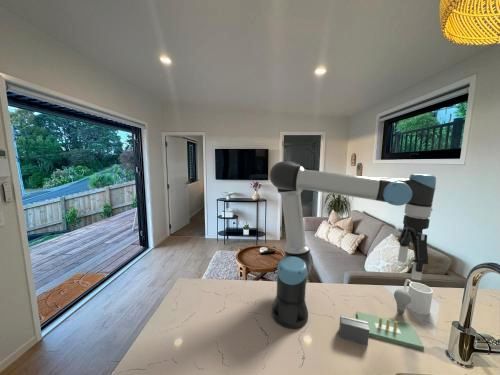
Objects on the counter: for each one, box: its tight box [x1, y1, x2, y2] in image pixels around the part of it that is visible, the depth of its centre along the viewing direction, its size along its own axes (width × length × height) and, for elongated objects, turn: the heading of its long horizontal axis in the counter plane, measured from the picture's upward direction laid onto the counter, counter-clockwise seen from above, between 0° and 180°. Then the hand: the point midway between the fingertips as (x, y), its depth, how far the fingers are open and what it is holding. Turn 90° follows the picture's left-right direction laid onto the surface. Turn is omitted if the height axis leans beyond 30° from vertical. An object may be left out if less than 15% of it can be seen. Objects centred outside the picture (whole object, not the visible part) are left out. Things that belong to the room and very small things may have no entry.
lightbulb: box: [393, 288, 411, 315], centre depth 91 cm, size 6×6×11 cm
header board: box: [356, 311, 425, 351], centre depth 83 cm, size 20×11×5 cm, turn 71°
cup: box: [403, 278, 434, 316], centre depth 97 cm, size 8×12×10 cm
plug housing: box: [338, 314, 370, 347], centre depth 79 cm, size 9×4×6 cm, turn 71°
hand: (408, 269), depth 81 cm, fingers open, 13 cm apart
